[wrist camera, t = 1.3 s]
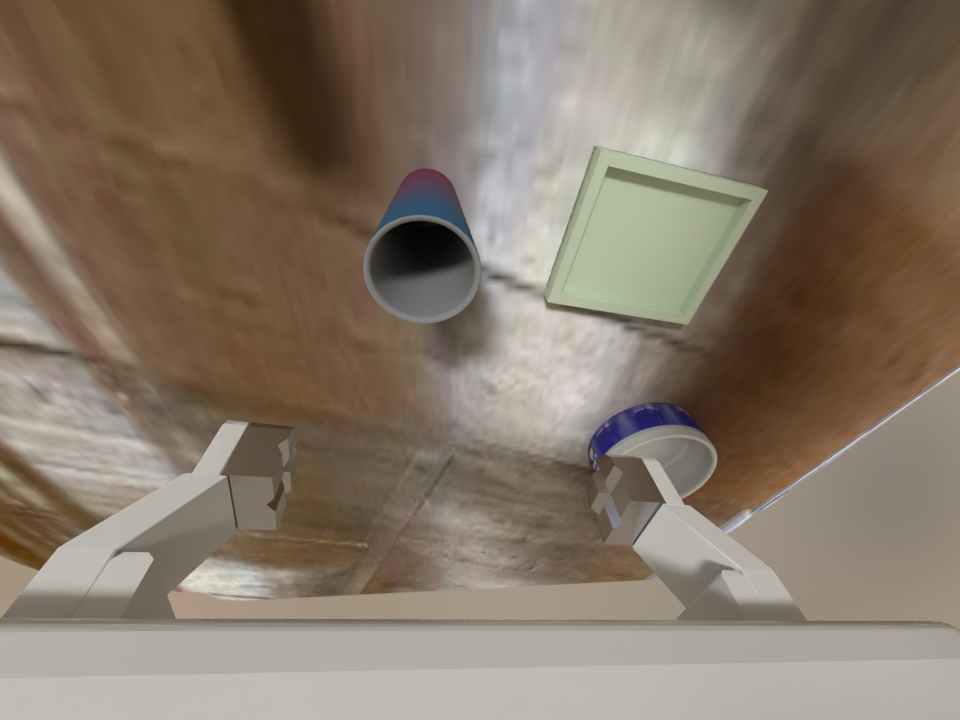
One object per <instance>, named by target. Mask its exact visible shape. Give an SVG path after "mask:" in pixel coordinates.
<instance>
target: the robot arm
mask: <svg viewBox="0 0 960 720" xmlns="http://www.w3.org/2000/svg"><path fill="white" fill-rule="evenodd" d="M296 440H297V431H296V428H295V427H289V426H280V425H271V424H262V423H253V422H251V423H249V422H240V421H231V420H228V421H227V422H225V423H224V424H223V425H222V426H221V428H220V429H219V431H218V433H217V434H216V436H215V437H214V439H213V441H212V442H211V444H210V445H209V447H208V449H207V450H206V452H205V453H204V455H203V457H202V458H201V460H200V461H199V463H198V465H197V466H196V468H195V469H194V471H193V473H184V474H182V475H181V476H179V477H177V478H176V479H174V480H172V481H170V482H169V483H167V484H165V485H164V486H162V487H160V488H159V489H157V490H155V491H153V492H152V493H150V494H148V495H147V496H145V497H143V498H142V499H140V500H138V501H137V502H135V503H133V504H131V505H130V506H128V507H126V508H125V509H123V510H121V511H120V512H118V513H116V514H114V515H113V516H111V517H109V518H108V519H106V520H104V521H103V522H101V523H99V524H98V525H96V526H94V527H92V528H91V529H89V530H87V531H86V532H84V533H82V534H81V535H79V536H77V537H75V538H74V539H72V540H70V541H69V542H67V543H65V544H64V545H62V546H60V547H59V548H58V549H57V550H56V551H55V553H54V554H53V555H52V556H51V557H50V559H49V560H48V561H47V562H46V564H45V565H44V566H43V567H42V568H41V570H40V571H39V572H38V574H37V575H36V576H35V577H34V578H33V580H32V581H31V582H30V583H29V585H28V586H27V587H26V588H25V589H24V591H23V592H22V593H21V594H20V595H19V597H18V598H17V599H16V600H15V602H14V603H13V604H12V605H11V607H10V608H9V609H8V610H7V612H6V613H5V614H4V615H3V616H2V618H0V720H960V629H958V628H956V627H954V626H952V625H949V624H946V623H942V622H935V621H807V619H806V618H805V616H804V615H803V613H802V612H801V611H800V609H799V608H798V606H797V605H796V603H795V602H794V600H793V599H792V598H791V596H790V595H789V593H788V592H787V590H786V589H785V587H784V586H783V584H782V583H781V582H780V580H779V579H778V577H777V576H776V574H775V573H774V572H773V571H772V570H771V569H770V568H769V567H768V566H766V565H765V564H764V563H762V562H761V561H760V560H759V559H757V558H756V557H755V556H754V555H752V554H751V553H750V552H748V551H747V550H746V549H745V548H743V547H742V546H740V545H739V544H738V543H737V542H736V541H734V540H733V539H732V538H731V537H729V536H728V535H727V534H725V533H724V532H723V531H722V530H720V529H719V528H718V527H716V526H715V525H714V524H713V523H711V522H710V521H709V520H708V519H706V518H705V517H704V516H702V515H701V514H700V513H699V512H697V511H696V510H695V509H693V508H692V507H691V506H689V505H684V503H683V501H682V500H681V498H680V496H679V495H678V493H677V491H676V490H675V488H674V486H673V485H672V483H671V481H670V480H669V478H668V476H667V475H666V473H665V471H664V470H663V468H662V466H661V465H660V463H659V461H658V460H656V459H655V458H651V457H635V456H624V455H611V454H604V455H603V456H601V457H600V459H599V461H598V463H597V464H598V467H599V470H597V471H596V472H594V473H593V474H591V476H590V479H589V481H588V485H587V497H588V501H589V504H590V507H591V508H592V509H593V510H594V511H595V512H596V513H597V514H598V517H597V520H596V523H597V526H598V529H599V531H600V534H601V537H602V539H603V542H604V544H616V545H630V546H633V547H632V548H633V549H634V550H635V551H636V552H637V553H638V554H639V555H640V557H641V558H642V559H643V560H644V561H645V562H646V563H647V565H648V566H649V567H650V568H651V569H652V570H653V571H654V572H655V574H656V575H657V576H658V577H659V578H660V579H661V580H662V581H663V583H664V584H665V585H666V586H667V587H668V588H669V589H670V591H671V592H672V593H673V594H674V595H675V596H676V597H677V598H678V600H679V601H680V602H681V603H682V604H683V605H684V606H685V607H686V609H685V610H684V612H682V614H681V615H680V616H679V617H678V618H677V619H676V620H420V619H419V620H417V619H415V620H414V619H411V620H410V619H408V620H405V619H402V620H401V619H395V620H394V619H377V620H376V619H176V618H175V615H174V613H173V610H172V607H171V604H170V602H169V599H168V596H167V594H168V593H170V592H171V591H172V590H173V589H174V588H175V587H176V586H177V585H178V584H179V583H181V582H182V581H183V580H184V579H185V578H186V577H187V576H188V575H189V574H190V573H192V572H193V571H194V570H195V569H196V568H197V567H198V566H199V565H200V564H201V563H203V562H204V561H205V560H206V559H207V558H208V557H209V556H210V555H211V554H212V553H214V552H215V551H216V550H217V549H218V548H219V547H220V546H221V545H222V544H223V543H225V542H226V541H227V540H228V539H229V538H230V537H231V536H232V535H233V534H234V533H236V532H237V530H236V529H258V530H277V527H278V525H279V522H280V519H281V516H282V514H283V511H284V508H285V494H286V493H287V492H289V491H290V490H291V488H292V485H293V482H294V479H295V474H296V470H297V461H298V451H297V450H296V449H295V448H294V445H295V443H296Z"/></svg>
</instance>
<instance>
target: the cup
mask: <svg viewBox="0 0 960 720" xmlns="http://www.w3.org/2000/svg"><path fill="white" fill-rule="evenodd" d="M363 273H364V278H365V283H366V285H367V287H368V290H369V292H370V293H371V295H372V296H373V298H374V299H375V301H376V302H377V303H378V304H379V305H380V306H381V307H382V308H383V309H384V310H386V311H387V312H389V313H390V314H391V315H393V316H395V317H397V318H400V319H402V320H405V321H409V322H412V323H421V324H427V323H436V322H441V321H444V320H447V319H449V318H452V317H454V316H455V315H457V314H458V313H460V312H461V311H463V310H464V309H465V308H466V307H467V306H468V305H469V304H470V302H471V301H472V299H473V298H474V297H475V295H476V292H477V290H478V288H479V284H480V279H481V263H480V259H479V255H478V252H477V249H476V247H475V244H474V241H473V238H472V236H471V233H470V230H469V228H468V225H467V222H466V219H465V217H464V214H463V211H462V209H461V206H460V203H459V200H458V198H457V195H456V192H455V190H454V187H453V185H452V184H451V182H450V181H449V179H448V178H447V177H446V176H445V175H443V174H442V173H440V172H438V171H435V170H432V169H420V170H416V171H414V172H412V173H410V174H409V175H408V176H407V177H406V178H405V179H404V180H403V182H402V184H401V185H400V187H399V189H398V191H397V193H396V195H395V196H394V198H393V200H392V202H391V204H390V206H389V207H388V209H387V211H386V213H385V215H384V217H383V218H382V220H381V222H380V224H379V226H378V228H377V229H376V231H375V233H374V235H373V237H372V239H371V241H370V243H369V245H368V247H367V249H366V251H365V255H364V260H363Z"/></svg>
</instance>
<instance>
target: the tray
mask: <svg viewBox="0 0 960 720" xmlns="http://www.w3.org/2000/svg"><path fill="white" fill-rule="evenodd" d="M767 193H768V190H765V189H763V188H761V187H758V186H756V185H752V184H748V183H744V182H740V181H736V180H732V179H728V178H724V177H720V176H716V175H711V174H707V173H703V172H699V171H695V170H691V169H687V168H683V167H679V166H675V165H671V164H667V163H663V162H659V161H655V160H650V159H646V158H642V157H638V156H634V155H630V154H626V153H622V152H618V151H614V150H610V149H606V148H602V147H598V146H595V147H594V149H593V152H592V155H591V158H590V161H589V164H588V167H587V170H586V173H585V176H584V178H583V181H582V184H581V187H580V190H579V193H578V196H577V199H576V202H575V205H574V207H573V210H572V213H571V216H570V219H569V222H568V225H567V228H566V231H565V233H564V236H563V239H562V242H561V245H560V248H559V251H558V254H557V257H556V260H555V262H554V265H553V268H552V271H551V274H550V277H549V280H548V283H547V286H546V289H545V291H544V296H545V298H546V300H547V302H549V303H555V304H561V305H568V306H574V307H580V308H586V309H592V310H599V311H605V312H611V313H617V314H624V315H630V316H636V317H642V318H648V319H655V320H661V321H667V322H673V323H680V324H686V325H688V324H689V322H690V320H691V319H692V317H693V315H694V314H695V312H696V310H697V309H698V307H699V305H700V304H701V302H702V300H703V299H704V297H705V295H706V294H707V292H708V290H709V289H710V287H711V286H712V284H713V282H714V281H715V279H716V277H717V276H718V274H719V272H720V271H721V269H722V267H723V266H724V264H725V262H726V261H727V259H728V257H729V256H730V254H731V252H732V251H733V249H734V247H735V246H736V244H737V242H738V241H739V239H740V237H741V236H742V234H743V232H744V231H745V229H746V227H747V226H748V224H749V222H750V221H751V219H752V217H753V216H754V214H755V212H756V211H757V209H758V208H759V206H760V204H761V203H762V201H763V199H764V198H765V196H766V194H767Z"/></svg>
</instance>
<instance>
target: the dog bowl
mask: <svg viewBox="0 0 960 720" xmlns="http://www.w3.org/2000/svg"><path fill="white" fill-rule="evenodd" d="M588 453H589V458H590V462H591V465H592V468H593V471H594V472H596V471H597V470H599V467H598V464H597V463H598V461H599V459H600V457H601V456H603V455H604V454H611V455H624V456H635V457H651V458H655V459H656V460H658V461H659V463H660V465H661V466H662V468H663V470H664V471H665V473H666V475H667V476H668V478H669V480H670V481H671V483H672V485H673V486H674V488H675V490H676V491H677V493H678V495H679V496H680V498H681V499H683V498H685V497H687V496H689V495H690V494H692V493H693V492H695V491H696V490H698V489H699V488H700V487H701V486H702V485H703V484H704V483H705V482H706V481H707V480H708V479H709V478H710V477H711V475H712V474H713V472H714V470H715V468H716V465H717V453H716V450H715V448H714V446H713V445H712V443H711V442H710V441H709V439H708V438H707V436H706V435H705V434H704V432H703V431H702V430H701V428H700V427H699V426H698V424H697V423H696V422H695V421H694V419H693V418H692V417H691V416H690V415H689V413H688V412H686V411H685V410H684V409H682V408H680V407H678V406H675V405H672V404H666V403H650V404H643V405H639V406H635V407H632V408H629V409H627V410H624V411H622V412H620V413H618V414H616V415H615V416H613V417H612V418H610V419H609V420H607V421H606V422H605V423H604V424H603V425H601V426H600V427H599V429H598V430H597V431H596V432H595V434H594V435H593V437H592V439H591V441H590V444H589V449H588Z"/></svg>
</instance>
